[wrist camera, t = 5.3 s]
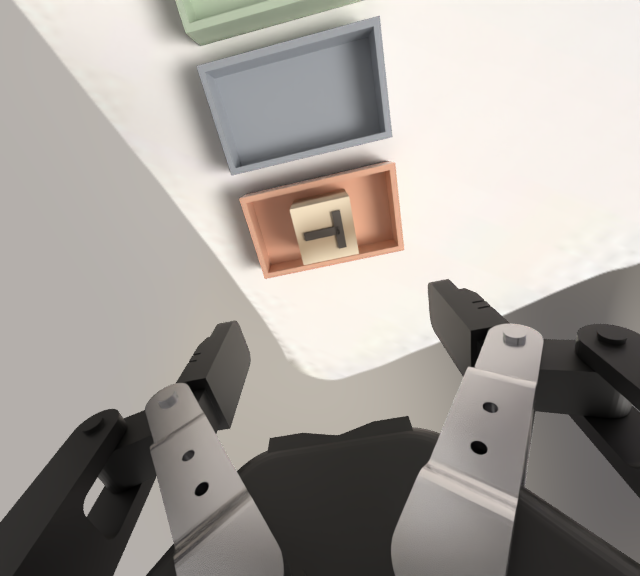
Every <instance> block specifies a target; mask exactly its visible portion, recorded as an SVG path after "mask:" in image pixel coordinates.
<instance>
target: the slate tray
mask: <svg viewBox="0 0 640 576" xmlns="http://www.w3.org/2000/svg"><path fill="white" fill-rule="evenodd" d="M196 67H197V70H198V73H199V76H200V79H201V82H202V85H203V88H204V91H205V95H206V98H207V101H208V104H209V107H210V110H211V113H212V116H213V119H214V123H215V126H216V129H217V132H218V135H219V138H220V141H221V144H222V147H223V150H224V154H225V157H226V160H227V163H228V166H229V169H230V172H231V175H236V174H240V173H244V172H248V171H253V170H257V169H261V168H265V167H269V166H274V165H278V164H282V163H286V162H290V161H294V160H299V159H303V158H307V157H311V156H315V155H319V154H324V153H328V152H332V151H336V150H340V149H345V148H349V147H353V146H357V145H361V144H365V143H370V142H374V141H378V140H382V139H386V138H390V137H392V129H391V120H390V110H389V101H388V91H387V82H386V72H385V63H384V53H383V44H382V34H381V25H380V16H377V17H373V18H369V19H366V20H362V21H359V22H355V23H351V24H348V25H344V26H340V27H337V28H333V29H329V30H326V31H322V32H318V33H315V34H311V35H307V36H304V37H300V38H297V39H293V40H289V41H286V42H282V43H278V44H275V45H271V46H267V47H264V48H260V49H256V50H253V51H249V52H246V53H242V54H238V55H235V56H231V57H227V58H224V59H220V60H216V61H213V62H209V63H205V64H202V65H198V66H196Z"/></svg>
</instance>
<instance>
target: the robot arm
mask: <svg viewBox="0 0 640 576" xmlns="http://www.w3.org/2000/svg"><path fill="white" fill-rule="evenodd" d="M428 297H429V311H430V320H431V324H432V327H433V330H434V332H435V333H436V335H437V336H438V338H439V340H440V341H441V343H442V344H443V346H444V347H445V349H446V350H447V352H448V354H449V355H450V357H451V358H452V360H453V362H454V363H455V365H456V366H457V368H458V369H459V371H460V372H461V374H462V376H463V380H462V382H461V384H460V387H459V389H458V392H457V394H456V397H455V399H454V401H453V404H452V407H451V409H450V411H449V414H448V416H447V419H446V421H445V423H444V426H443V428H442V431H441V433H437V432H434V431H431V430H427V429H421V428H413V427H412V426H411V423H410V420H409V417H408V416H406V417H399V418H393V419H387V420H380V421H374V422H371V423H369V424H366V425H364V426H361V427H359V428H356V429H354V430H351V431H349V432H346V433H344V434H341V435H324V434H311V433H300V434H293V435H287V436H281V437H274V438H270V441H269V447H268V451H266V452H263V453H261V454H260V455H258V456H256V457H254V458H253V459H251V460H250V461H248V462H247V463H246V464H245V465H243V466H242V467H241V468H240V469H239V470H238V471H236V469H235V467H234V466H233V464H232V462H231V460H230V459H229V457H228V455H227V453H226V452H225V450H224V448H223V446H222V444H221V443H220V441H219V439H218V437H217V435H216V433H217V430H223V429H230V427H231V424H232V421H233V418H234V414H235V411H236V408H237V405H238V401H239V398H240V395H241V392H242V389H243V385H244V382H245V379H246V376H247V373H248V369H249V366H250V352H249V349H248V346H247V344H246V341H245V339H244V336H243V334H242V331H241V328H240V326H239V324H238V322H237V321H230V322H225V323H220V324H217V326H216V327H215V329H214V331H213V333H212V335H211V336H210V337H208V338H206V339H205V340H204V341H203V342H202V343H201V344H200V345H199V346H198V347H197V349H196V351H195V352H194V354H193V355H194V356H192V358H191V359H190V361H189V363H188V364H187V366H186V367H185V369H184V371H183V372H182V374H181V376H180V377H179V379H178V381H177V382H176V384H173V385H170V386H168V387H165V388H163V389H162V390H160V391H159V392H157V393H156V394H155V395H154V396H153V397H152V398H151V399H150V400H149V401H148V403H147V404H146V407H145V410H144V411H141V412H140V413H137V414H134V415H131V416H129V417H126V418H124V419H123V417H122V416H121V414H120V413H119V412H118V410H116V409H108V410H104V411H102V412H99V413H97V414H95V415H93V416H91V417H90V418H88V419H87V420H85V421H84V422H83V423H82V424H80V425H79V426H78V427H77V428H76V429H75V430H74V432H73V433H72V434H71V435H70V436H69V438H68V439H67V440H66V441H65V443H64V444H63V445H62V446H61V448H60V449H59V450H58V451H57V453H56V454H55V455H54V457H53V458H52V459H51V460H50V461H49V463H48V464H47V465H46V466H45V468H44V469H43V470H42V471H41V473H40V474H39V475H38V476H37V477H36V479H35V480H34V481H33V483H32V484H31V485H30V486H29V488H28V489H27V490H26V491H25V493H24V494H23V495H22V496H21V497H20V499H19V500H18V501H17V502H16V504H15V505H14V506H13V507H12V509H11V510H10V511H9V512H8V514H7V515H6V516H5V517H4V519H3V520H2V521H1V522H0V576H113V575H114V572H115V570H116V568H117V565H118V563H119V561H120V559H121V556H122V554H123V552H124V550H125V547H126V545H127V543H128V540H129V538H130V536H131V533H132V531H133V529H134V527H135V524H136V522H137V520H138V517H139V515H140V513H141V511H142V508H143V506H144V503H145V501H146V499H147V497H148V495H149V492H150V490H151V488H152V485H153V483H154V481H155V479H156V476H157V479H158V483H159V486H160V491H161V494H162V498H163V503H164V506H165V510H166V514H167V518H168V522H169V526H170V530H171V534H172V538H173V542H174V544H173V545H172V546H171V547H170V548H169V550H168V551H167V552H166V553H165V554H164V555H163V556H162V558H161V559H160V560H159V561H158V562H157V563H156V565H155V566H154V567H153V568H152V569H151V570H150V571H149V573H148V574H147V575H146V576H640V564H639V563H637V562H636V561H634V560H633V559H631V558H630V557H628V556H627V555H625V554H624V553H622V552H621V551H619V550H617V549H616V548H615V547H613V546H612V545H610V544H609V543H607V542H606V541H604V540H603V539H601V538H600V537H598V536H597V535H595V534H594V533H592V532H591V531H589V530H588V529H586V528H585V527H583V526H582V525H580V524H579V523H577V522H576V521H574V520H573V519H571V518H570V517H568V516H567V515H565V514H564V513H562V512H561V511H559V510H558V509H556V508H555V507H553V506H552V505H550V504H549V503H547V502H546V501H544V500H543V499H541V498H540V497H538V496H537V495H536V494H534V493H532V492H531V491H530V490H528V489H527V488H525V483H526V476H527V468H528V460H529V453H530V446H531V439H532V433H533V426H534V419H535V412H536V411H540V412H549V413H560V414H569V416H570V417H571V418H572V419H573V420H574V422H575V423H576V424H577V425H578V426H579V427H580V429H581V430H582V431H583V432H584V433H585V434H586V436H587V437H588V438H589V439H590V440H591V442H592V443H593V444H594V445H595V446H596V447H597V448H598V450H599V451H600V452H601V453H602V454H603V456H604V457H605V458H606V459H607V460H608V461H609V463H610V464H611V465H612V466H613V467H614V469H615V470H616V471H617V472H618V473H619V474H620V476H621V477H622V478H623V479H624V480H625V481H626V483H627V484H628V485H629V486H630V487H631V489H632V490H633V491H634V492H635V493H636V494H637V496H638V497H639V498H640V412H638V411H637V410H636V409H635V408H634V407H633V406H632V404H633V405H634V406H635V407H636V408H637V409H638V410H639V411H640V334H638V333H636V332H634V331H632V330H629V329H626V328H623V327H619V326H614V325H608V324H593V325H587V326H584V327H582V328H580V329H579V330H578V332H577V338H576V340H549V339H543V337H542V336H541V334H540V333H539V332H537V331H536V330H534V329H532V328H530V327H527V326H523V325H519V324H510V323H509V322H508V321H507V320H506V319H504V318H503V317H502V316H501V315H500V314H499V313H498V312H497V311H496V310H495V309H494V308H492V307H490V305H489V304H488V303H487V302H486V301H484V299H483V298H482V297H480V296H479V295H478V294H477V293H475V292H473V291H470V290H468V289H466V288H463V289H458V288H457V287H456V286H455V285H454V284H453V283H452V282H451V281H450V280H449V279H446V280H441V281H436V282H430V283H429V284H428ZM97 477H98V478H99V479H100V480H101V481H102V482H103V484H104V485H105V487H104V488H103V490H102V492H101V493H100V495H99V497H98V498H97V500H96V502H95V504H94V506H93V507H92V509H91V511H90V512H89V514H88V516H87V517H86V516H85V514H84V511H83V504H84V500H85V497H86V495H87V493H88V492H89V490H90V488H91V487H92V485H93V484H94V482H95V480H96V479H97Z"/></svg>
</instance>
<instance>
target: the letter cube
mask: <svg viewBox="0 0 640 576" xmlns="http://www.w3.org/2000/svg"><path fill="white" fill-rule="evenodd" d="M290 214H291V217H292V221H293V225H294V229H295V233H296V237H297V241H298V245H299V248H300V252H301V256H302V260H303V264H304V265H308V264H312V263H317V262H322V261H327V260H332V259H336V258H341V257H346V256H351V255H355V254H359V250H358V245H357V239H356V233H355V227H354V221H353V216H352V210H351V204H350V198H349V195H348V194H347V192H346V191H345V189H341V190H337V191H332V192H328V193H323V194H319V195H315V196H310V197H306V198H302V199H297V200H294V201H293V203H292V205H291V208H290Z"/></svg>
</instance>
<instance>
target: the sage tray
mask: <svg viewBox="0 0 640 576" xmlns="http://www.w3.org/2000/svg"><path fill="white" fill-rule="evenodd" d="M175 1H176V5H177V8H178V11H179V14H180V17H181V20H182V23H183V26H184V29H185V33H186V34H187V35H188V36H189V37H190V38H192V39H193V40H194V41H195V42H196V43H197V44H199V45H200V46H202V45H206V44H209V43H213V42H216V41H220V40H224V39H227V38H231V37H234V36H238V35H241V34H245V33H249V32H252V31H256V30H259V29H263V28H266V27H270V26H274V25H277V24H281V23H284V22H288V21H291V20H295V19H299V18H302V17H306V16H309V15H313V14H316V13H320V12H324V11H327V10H331V9H334V8H338V7H342V6H345V5H349V4H352V3H356V2H359V1H363V0H175Z"/></svg>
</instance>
